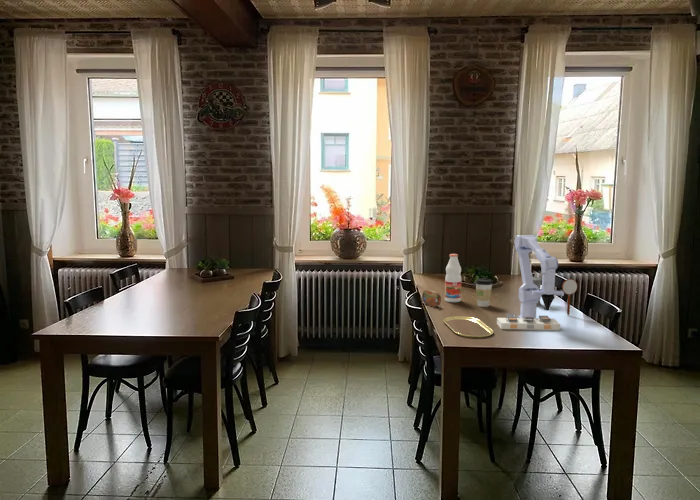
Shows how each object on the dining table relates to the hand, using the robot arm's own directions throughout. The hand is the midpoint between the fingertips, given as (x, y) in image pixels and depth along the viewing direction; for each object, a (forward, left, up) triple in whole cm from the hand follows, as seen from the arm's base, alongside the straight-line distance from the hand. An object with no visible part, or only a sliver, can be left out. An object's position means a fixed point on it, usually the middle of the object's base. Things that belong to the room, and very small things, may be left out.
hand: (546, 309), depth 259 cm
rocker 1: (-3, -16, -5) cm, 17 cm away
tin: (-45, -52, -10) cm, 69 cm away
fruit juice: (-57, -38, -10) cm, 69 cm away
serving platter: (+1, -38, -10) cm, 39 cm away
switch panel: (-3, -8, -9) cm, 13 cm away
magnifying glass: (-26, +19, -10) cm, 33 cm away
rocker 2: (-3, -8, -5) cm, 10 cm away
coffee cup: (-46, -22, -10) cm, 52 cm away
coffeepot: (-52, +8, -10) cm, 53 cm away
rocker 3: (-3, 0, -5) cm, 6 cm away
